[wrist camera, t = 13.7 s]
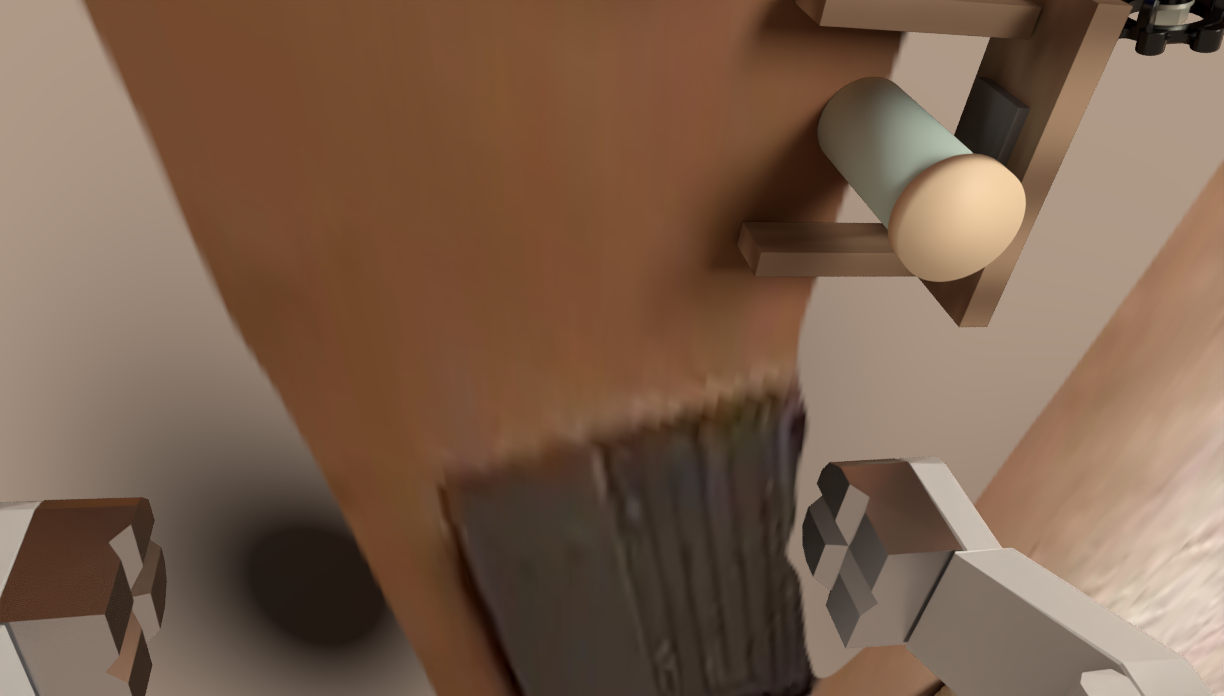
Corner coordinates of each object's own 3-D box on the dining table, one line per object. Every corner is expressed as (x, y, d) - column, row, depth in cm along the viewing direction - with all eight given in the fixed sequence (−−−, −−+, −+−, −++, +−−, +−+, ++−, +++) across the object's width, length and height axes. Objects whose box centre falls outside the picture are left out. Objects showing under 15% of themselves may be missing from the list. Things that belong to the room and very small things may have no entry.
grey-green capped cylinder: (826, 65, 42) (923, 163, 35) (930, 71, 44) (1047, 166, 36) (797, 171, 46) (881, 282, 38) (895, 174, 47) (995, 281, 39)
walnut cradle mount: (808, -57, 39) (866, -15, 34) (1049, -37, 42) (1133, 6, 37) (732, 263, 48) (769, 330, 44) (932, 263, 51) (987, 326, 46)
